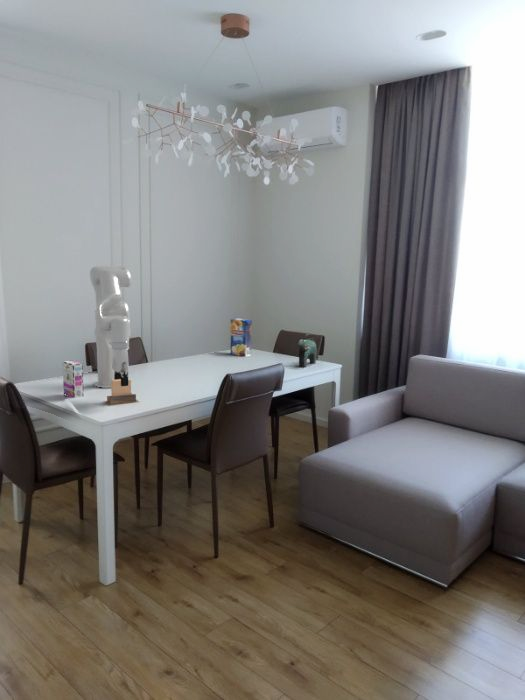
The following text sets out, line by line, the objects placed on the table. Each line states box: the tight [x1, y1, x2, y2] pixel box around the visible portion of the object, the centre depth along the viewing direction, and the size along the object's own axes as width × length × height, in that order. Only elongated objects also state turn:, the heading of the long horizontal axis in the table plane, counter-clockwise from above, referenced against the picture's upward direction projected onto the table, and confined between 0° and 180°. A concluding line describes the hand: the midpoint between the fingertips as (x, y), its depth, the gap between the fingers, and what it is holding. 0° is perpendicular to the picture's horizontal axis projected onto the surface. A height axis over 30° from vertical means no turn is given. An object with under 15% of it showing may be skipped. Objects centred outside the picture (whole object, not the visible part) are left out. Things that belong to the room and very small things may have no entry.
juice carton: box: [230, 318, 253, 357], centre depth 368 cm, size 12×8×24 cm, turn 60°
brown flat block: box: [103, 392, 140, 407], centre depth 245 cm, size 8×14×4 cm, turn 121°
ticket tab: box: [110, 377, 132, 397], centre depth 244 cm, size 3×8×10 cm, turn 121°
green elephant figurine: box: [297, 333, 318, 369], centre depth 339 cm, size 20×6×20 cm, turn 148°
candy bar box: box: [62, 359, 84, 399], centre depth 254 cm, size 11×5×16 cm, turn 45°
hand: (121, 383), depth 243 cm, fingers open, 9 cm apart
